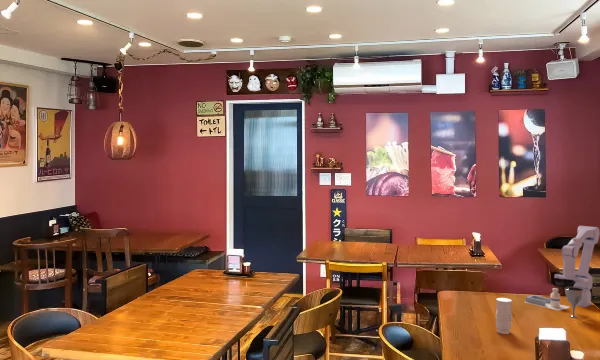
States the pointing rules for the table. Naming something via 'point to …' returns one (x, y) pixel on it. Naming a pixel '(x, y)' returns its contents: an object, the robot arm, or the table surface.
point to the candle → (503, 315)
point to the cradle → (543, 302)
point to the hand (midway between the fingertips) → (568, 293)
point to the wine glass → (573, 297)
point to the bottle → (555, 298)
